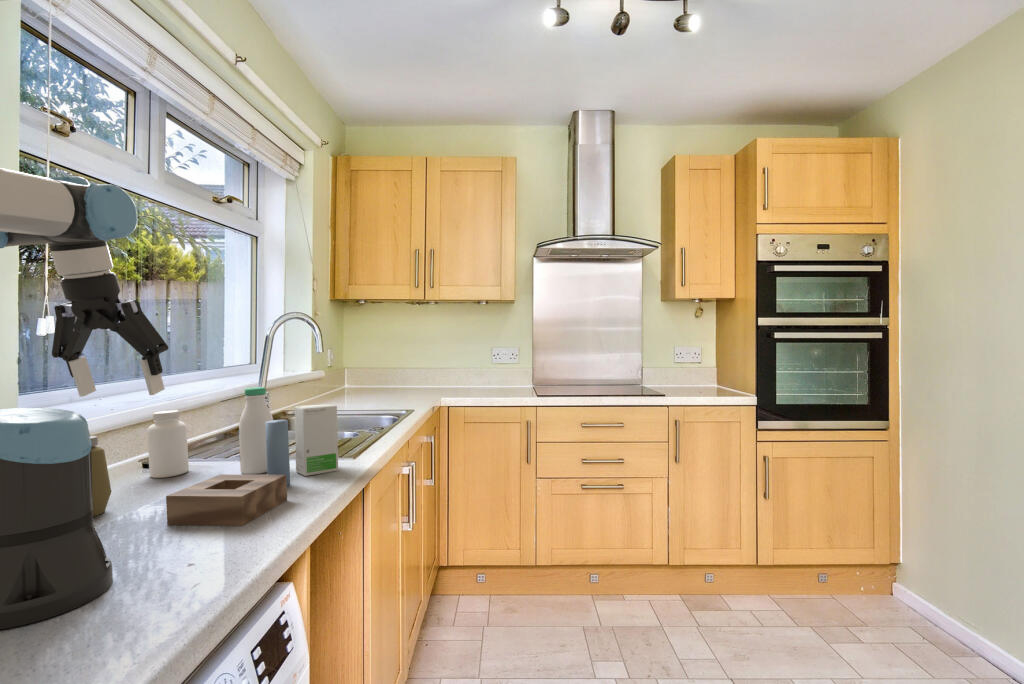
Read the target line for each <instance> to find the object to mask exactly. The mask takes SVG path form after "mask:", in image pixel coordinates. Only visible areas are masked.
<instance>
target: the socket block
mask: <svg viewBox="0 0 1024 684" xmlns="http://www.w3.org/2000/svg"><path fill="white" fill-rule="evenodd" d="M165 501H166V502H165V506H166V522H167V523H166V525H169V526H172V525H173V526H220V527H221V526H227V527H228V526H229V527H231V526H232V527H234V526H235V527H243V526H245V525H246V524H248V523H250V522H251V521H253V520H256V519H257V518H259V517H260V516H262V515H265V514H266V513H268V512H270V511H271V510H273V509H275V508H276V507H278V506H279V505H281V504H283V503H285V502H286V501H288V488H287V482H286V475H267V474H231V473H230V474H218V475H215V476H213V477H211V478H207V479H204V480H202V481H200V482H197V483H195V484H192V485H190V486H187V487H185V488H182V489H179V490H177V491H174V492H172V493H169V494H167V495H165Z"/></svg>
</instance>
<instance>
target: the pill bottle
mask: <svg viewBox="0 0 1024 684" xmlns="http://www.w3.org/2000/svg"><path fill="white" fill-rule="evenodd" d="M152 419H153V424H151V425H150V426H148V428H147V432H146V435H147V450H148V451H147V452H148V453H147V454H148V469H149V470H148V471H149V472H148V473H149V476H150V477H151V478H153V479H155V478H157V479H162V478H170V477H171V478H173V477H177V476H180V475H183V474H185V473H188V472H189V451H188V432H187V431H188V430H187V425H186V423H185V422H183V421H180V410H176V409H175V410H174V409H173V410H163V411H156V412H153V413H152Z"/></svg>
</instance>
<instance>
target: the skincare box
mask: <svg viewBox="0 0 1024 684" xmlns="http://www.w3.org/2000/svg"><path fill="white" fill-rule="evenodd" d="M294 431H295V432H294V433H295V434H294V437H295V440H294V441H295V471H296V473H298V474H300V475H302V476H303V477H308V476H314V475H319V474H325V473H326V474H327V473H333V472H337V471H339V450H338V449H339V446H338V440H339V439H338V438H339V437H338V406H337V405H336V404H335V405H334V404H330V403H329V404H328V403H326V404H325V403H324V404H323V403H322V404H308V405H299V406H297V405H296V406H294Z"/></svg>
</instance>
